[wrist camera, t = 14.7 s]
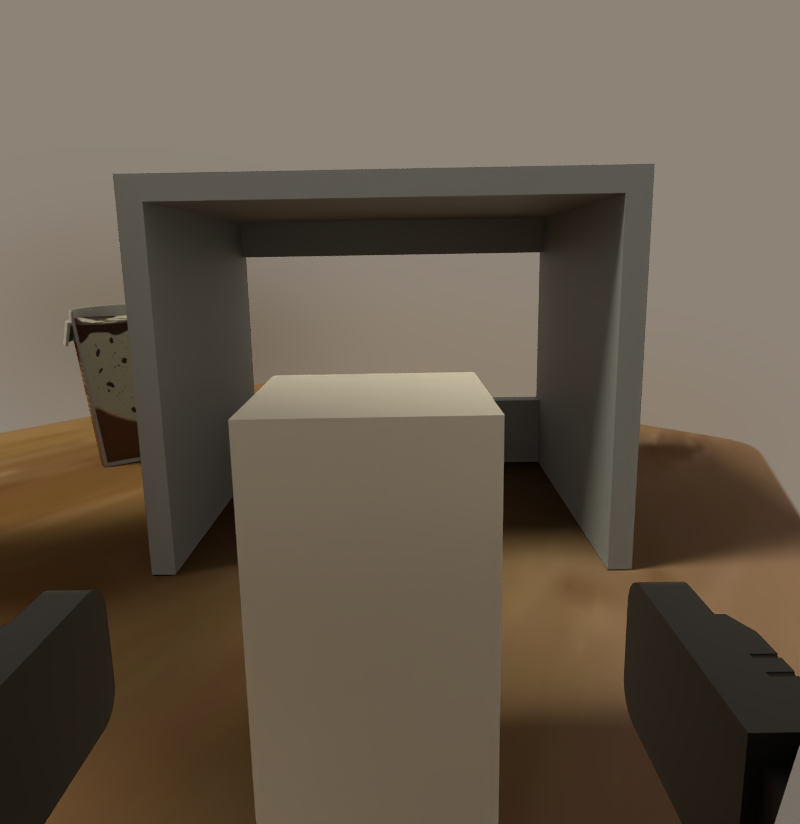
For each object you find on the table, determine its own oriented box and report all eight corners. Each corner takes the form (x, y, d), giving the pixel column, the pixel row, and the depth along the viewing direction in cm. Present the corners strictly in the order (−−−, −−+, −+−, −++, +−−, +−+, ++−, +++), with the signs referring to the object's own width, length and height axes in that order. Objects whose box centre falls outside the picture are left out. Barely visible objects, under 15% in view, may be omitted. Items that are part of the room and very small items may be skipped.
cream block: (260, 883, 15) (227, 419, 13) (292, 729, 20) (273, 375, 18) (497, 878, 15) (504, 414, 13) (472, 725, 20) (473, 372, 18)
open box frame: (151, 575, 30) (113, 173, 26) (243, 461, 46) (226, 206, 43) (631, 569, 29) (654, 163, 26) (550, 457, 46) (557, 200, 43)
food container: (222, 425, 57) (213, 298, 55) (257, 439, 52) (249, 301, 50) (56, 452, 49) (38, 307, 47) (80, 471, 45) (61, 312, 43)
